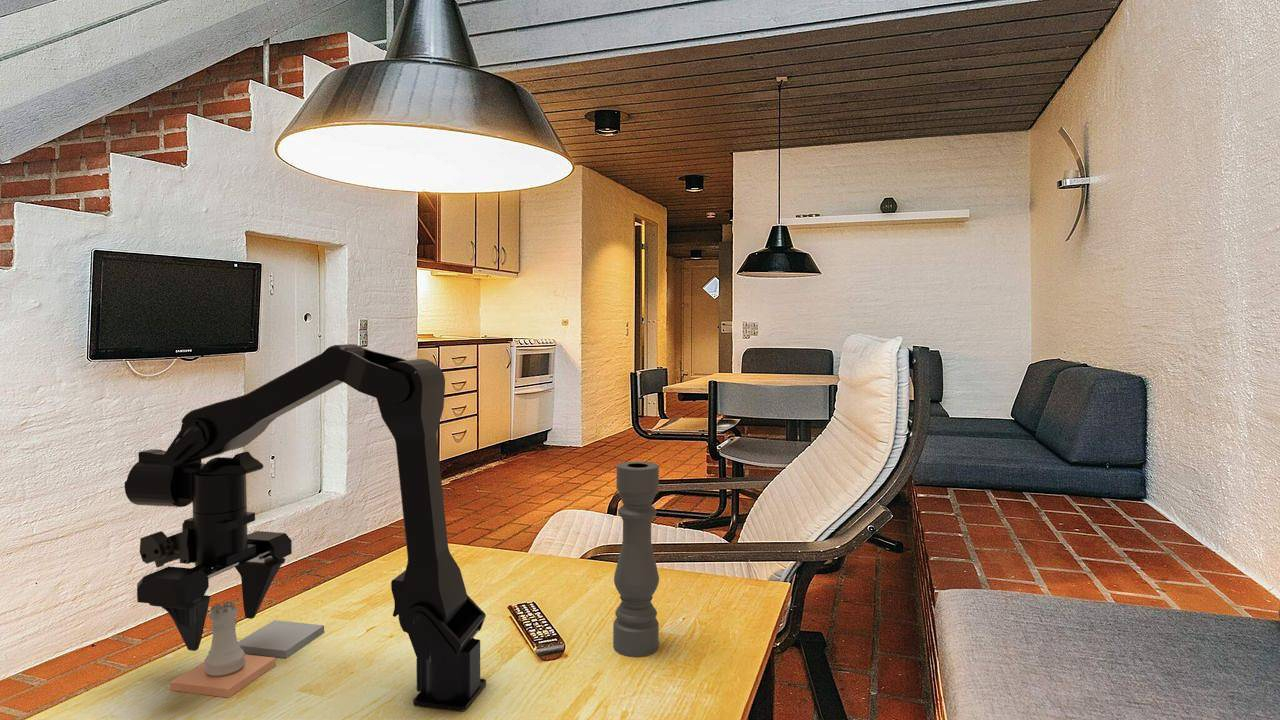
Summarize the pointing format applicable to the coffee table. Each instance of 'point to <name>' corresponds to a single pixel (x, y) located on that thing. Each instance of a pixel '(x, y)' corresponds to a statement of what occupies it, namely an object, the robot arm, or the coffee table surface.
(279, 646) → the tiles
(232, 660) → the rook chess piece
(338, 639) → the coffee table surface
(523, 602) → the coffee table surface
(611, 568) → the coffee table surface
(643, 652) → the candle holder
